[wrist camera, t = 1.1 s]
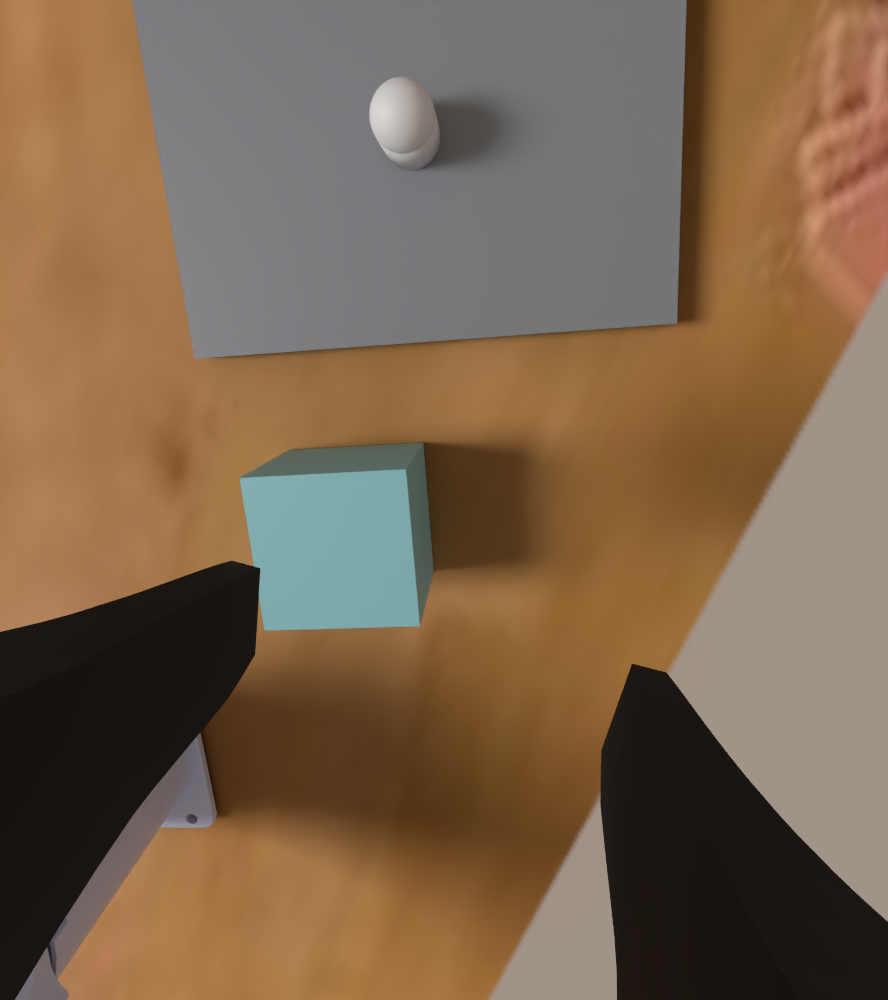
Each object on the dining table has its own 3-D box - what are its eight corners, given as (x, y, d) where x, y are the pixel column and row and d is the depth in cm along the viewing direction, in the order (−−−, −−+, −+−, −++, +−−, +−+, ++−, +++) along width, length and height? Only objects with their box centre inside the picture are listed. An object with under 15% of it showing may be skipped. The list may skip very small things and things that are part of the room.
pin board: (208, 357, 21) (151, 362, 18) (140, -44, 18) (55, -136, 15) (668, 324, 20) (706, 321, 16) (679, -121, 17) (729, -244, 13)
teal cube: (306, 575, 23) (264, 630, 19) (289, 449, 22) (239, 477, 18) (433, 571, 23) (419, 626, 19) (423, 442, 22) (405, 469, 17)
